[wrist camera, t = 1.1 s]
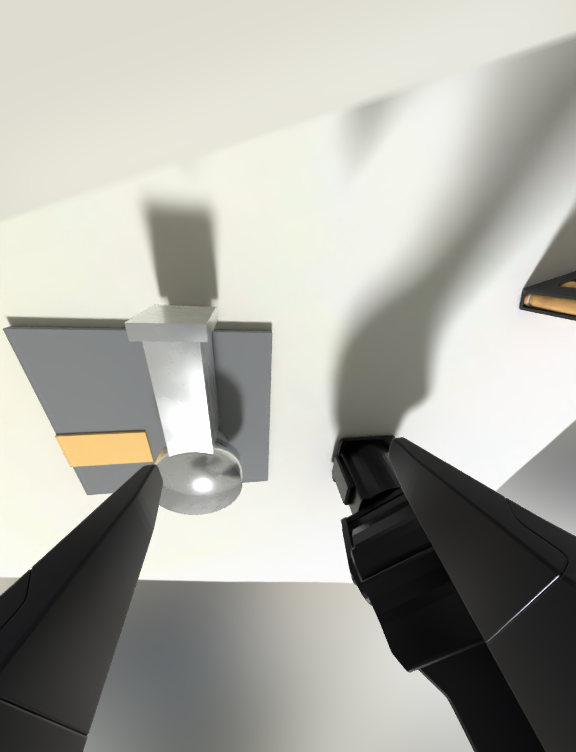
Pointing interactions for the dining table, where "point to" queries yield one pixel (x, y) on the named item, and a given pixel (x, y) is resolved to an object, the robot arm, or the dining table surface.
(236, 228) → the dining table surface
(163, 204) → the dining table surface
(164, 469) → the elbow
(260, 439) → the base
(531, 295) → the ammunition clip
